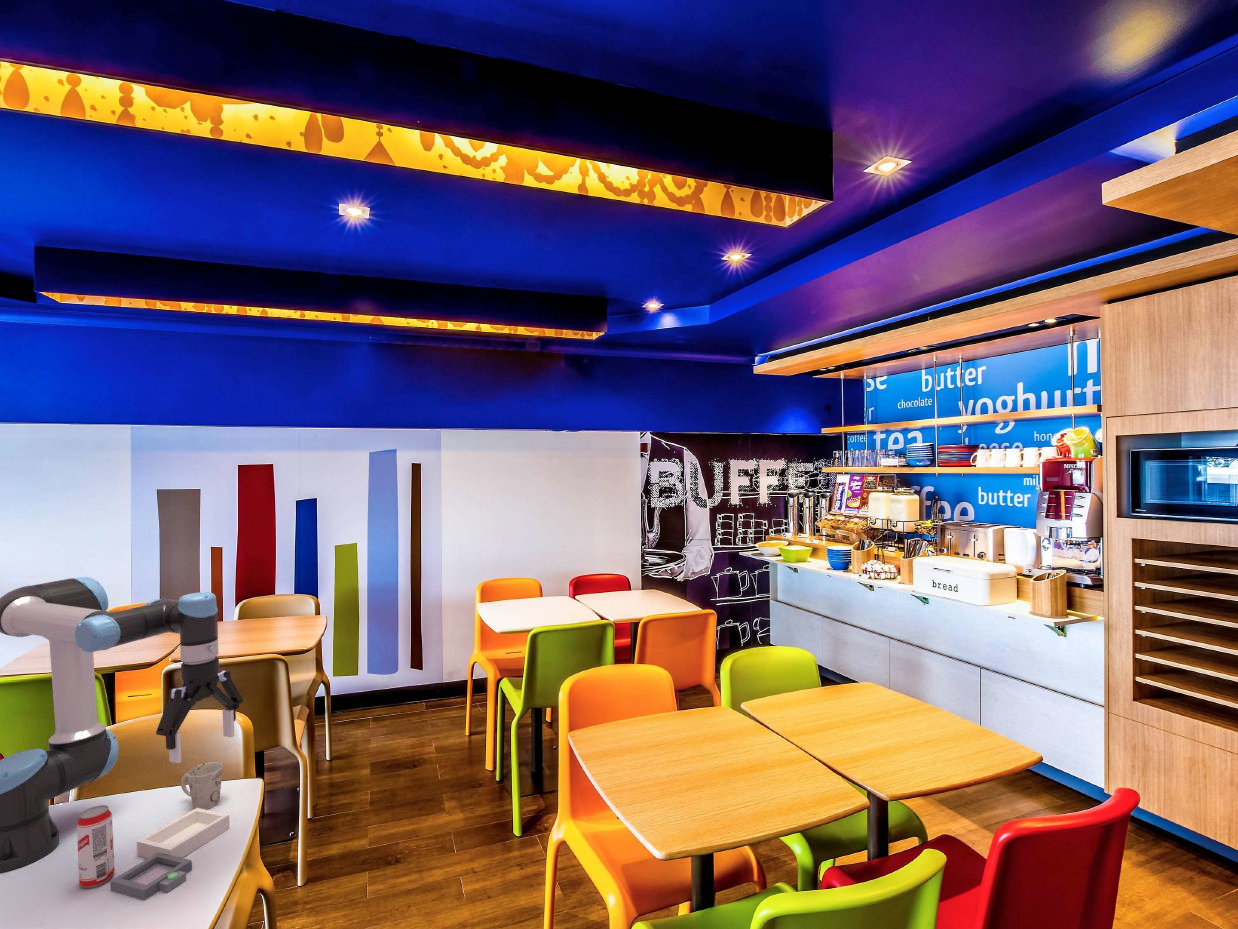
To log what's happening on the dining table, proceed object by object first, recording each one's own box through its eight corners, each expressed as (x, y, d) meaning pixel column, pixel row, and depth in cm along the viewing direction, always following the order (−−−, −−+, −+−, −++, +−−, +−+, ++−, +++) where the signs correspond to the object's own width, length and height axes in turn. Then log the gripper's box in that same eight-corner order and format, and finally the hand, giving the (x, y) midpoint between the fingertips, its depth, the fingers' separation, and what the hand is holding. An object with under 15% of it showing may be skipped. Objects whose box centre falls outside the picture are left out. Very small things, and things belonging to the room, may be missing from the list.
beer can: (86, 893, 143) (82, 822, 143) (74, 884, 146) (71, 814, 146) (119, 877, 148) (116, 808, 148) (107, 868, 152) (104, 801, 151)
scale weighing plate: (124, 886, 145) (124, 882, 145) (156, 866, 152) (156, 863, 152) (147, 892, 143) (147, 889, 143) (178, 872, 149) (178, 869, 149)
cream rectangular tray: (137, 856, 156) (136, 841, 156) (197, 821, 171) (197, 807, 171) (171, 864, 153) (170, 850, 152) (229, 828, 167) (229, 814, 167)
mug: (206, 814, 174) (205, 777, 174) (167, 810, 176) (166, 774, 176) (231, 798, 182) (229, 763, 182) (193, 794, 185) (192, 759, 184)
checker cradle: (110, 890, 144) (110, 879, 144) (159, 861, 154) (158, 850, 154) (152, 903, 139) (151, 891, 139) (199, 871, 150) (199, 861, 150)
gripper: (159, 679, 140) (162, 776, 140) (257, 645, 164) (260, 728, 164) (134, 675, 142) (138, 771, 143) (234, 643, 166) (237, 725, 166)
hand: (203, 748), depth 153 cm, fingers open, 13 cm apart
